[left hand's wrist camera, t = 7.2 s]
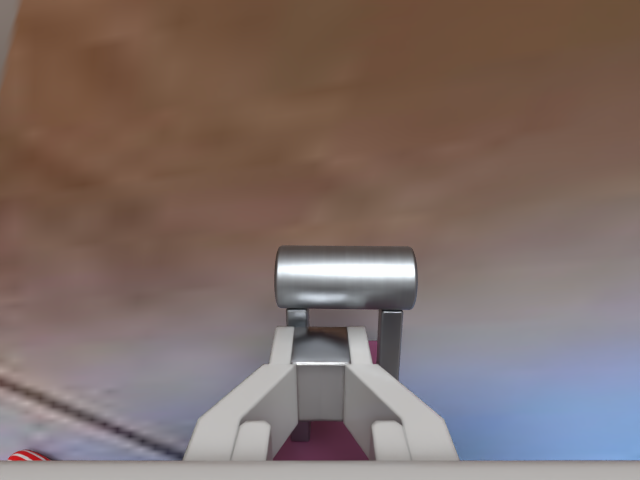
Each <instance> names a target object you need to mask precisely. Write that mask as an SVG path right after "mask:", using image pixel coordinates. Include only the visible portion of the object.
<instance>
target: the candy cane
mask: <svg viewBox="0 0 640 480" xmlns="http://www.w3.org/2000/svg"><path fill="white" fill-rule="evenodd" d="M7 461H52V460H50V459H48V458H47V457H45V456H43V455H41V454H39V453H36V452H33V451H31V450H21V451H18V452H16V453H14V454H13V455H11V456H10V457H9V458H8V460H7Z"/></svg>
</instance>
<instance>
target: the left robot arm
mask: <svg viewBox="0 0 640 480" xmlns="http://www.w3.org/2000/svg"><path fill="white" fill-rule="evenodd" d="M301 421H340V422H343V423H344V425H345V426H346V428H347V429H348V430H349V432H350V433H351V435H352V436H353V437H354V439H355V440H356V442H357V443H358V445H359V446H360V447H361V449H362V450H363V452H364V453H365V454H366V456H367V457H368V459H369V460H358V461H273V458H274V457H275V455H276V454H277V452H278V451H279V450H280V448H281V447H282V445H283V444H284V443H285V441H286V440H287V438H288V437H289V436H290V434H291V433H292V431H293V430H294V428H295V427H296V426H297V424H298V422H301ZM0 480H640V460H551V461H460V460H459V457H458V455H457V452H456V449H455V447H454V444H453V442H452V439H451V436H450V434H449V431H448V429H447V426H446V423H445V421H444V419H443V418H442V417H441V416H439V415H438V414H437V413H436V412H435V411H433V410H432V409H431V408H430V407H429V406H427V405H426V404H425V403H424V402H423V401H421V400H420V399H419V398H418V397H417V396H415V395H414V394H413V393H412V392H411V391H409V390H408V389H407V388H406V387H405V386H403V385H402V384H401V383H400V382H399V381H398V380H396V379H395V378H394V377H393V376H392V375H390V374H389V373H388V372H387V371H386V370H384V369H383V368H382V367H381V366H380V365H378V364H373V363H372V358H371V353H370V348H369V343H368V338H367V333H366V328H365V327H364V326H353V327H297V326H295V327H294V326H277V327H276V329H275V334H274V339H273V344H272V349H271V355H270V360H269V364H263V365H262V366H261V367H259V368H258V369H257V370H256V371H255V372H253V373H252V374H251V375H250V376H249V377H247V378H246V379H245V380H244V381H243V382H242V383H240V384H239V385H238V386H237V387H236V388H234V389H233V390H232V391H231V392H230V393H228V394H227V395H226V396H225V397H224V398H222V399H221V400H220V401H219V402H218V403H216V404H215V405H214V406H213V407H212V408H210V409H209V410H208V411H207V412H206V413H205V414H203V415H202V416H201V417H200V418H199V419H198V421H197V423H196V426H195V428H194V431H193V434H192V436H191V439H190V441H189V444H188V447H187V449H186V452H185V454H184V457H183V460H182V461H0Z"/></svg>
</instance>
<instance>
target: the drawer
mask: <svg viewBox="0 0 640 480" xmlns="http://www.w3.org/2000/svg"><path fill="white" fill-rule="evenodd" d="M417 285H418V275H417V263H416V258H415V254H414V252H413V249H412V248H411V247H404V246H280V247H279V249H278V251H277V255H276V261H275V274H274V287H275V298H276V303H277V306H278V307H280V308H287V309H286V322H287V326H294V327H295V326H297V327H309V308H315V309H379V317H378V338H377V341H368V343H369V348H370V353H371V358H372V363H373V364H378V365H380V366H381V367H382V368H383V369H384V370H386V371H387V372H388V373H389V374H390V375H392V376H393V377H394V378H395V379H396V380H398V381H399V365H400V351H401V336H402V322H403V311H402V310H410V309H412V308H413V307H414V304H415V301H416V296H417ZM358 460H369V459H368V457H367V456H366V454H365V453H364V452H363V450H362V449H361V447H360V446H359V445H358V443H357V442H356V440H355V439H354V437H353V436H352V435H351V433H350V432H349V430H348V429H347V428H346V426H345V425H344V423H343V422H340V421H301V422H298V424H297V426H296V427H295V428H294V430H293V431H292V433H291V434H290V436H289V437H288V438H287V440H286V441H285V443H284V444H283V445H282V447H281V448H280V450H279V451H278V452H277V454H276V455H275V457H274V458H273V461H358Z"/></svg>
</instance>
